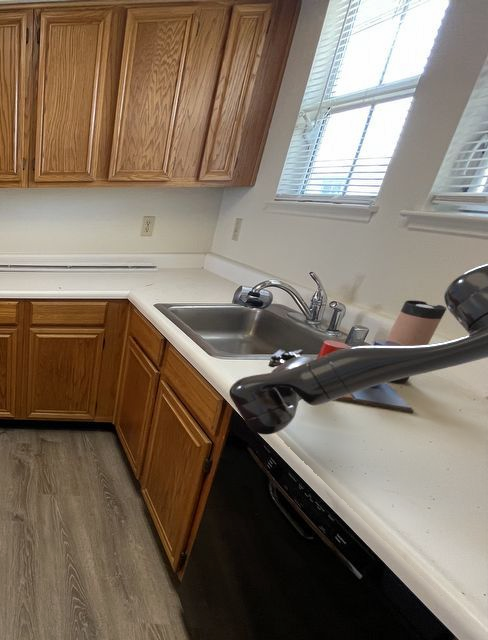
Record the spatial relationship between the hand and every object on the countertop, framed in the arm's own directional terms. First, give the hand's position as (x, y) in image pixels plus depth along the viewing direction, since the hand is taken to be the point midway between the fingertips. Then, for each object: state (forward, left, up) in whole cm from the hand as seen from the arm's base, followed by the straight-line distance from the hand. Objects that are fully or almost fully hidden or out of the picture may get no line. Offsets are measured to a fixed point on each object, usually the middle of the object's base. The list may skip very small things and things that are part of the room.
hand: (321, 360), depth 92 cm
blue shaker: (-17, -16, -10) cm, 25 cm away
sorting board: (-11, -12, -11) cm, 19 cm away
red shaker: (-5, -10, -10) cm, 15 cm away
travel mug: (-25, -26, -11) cm, 38 cm away
